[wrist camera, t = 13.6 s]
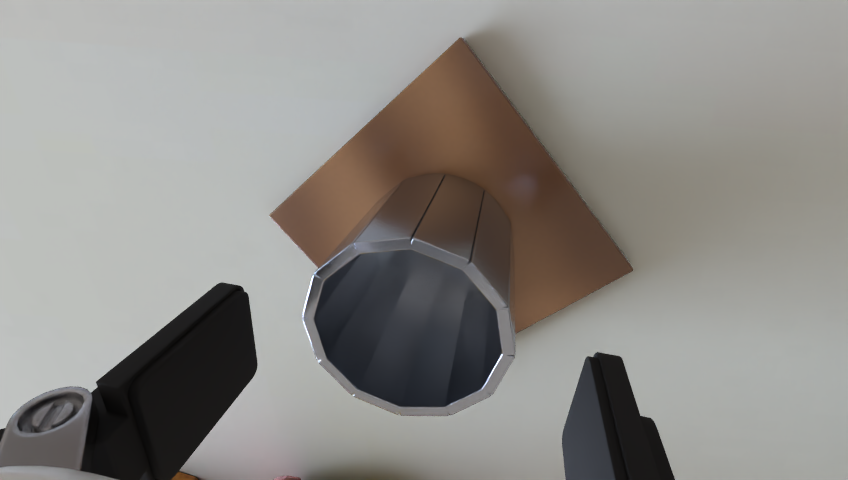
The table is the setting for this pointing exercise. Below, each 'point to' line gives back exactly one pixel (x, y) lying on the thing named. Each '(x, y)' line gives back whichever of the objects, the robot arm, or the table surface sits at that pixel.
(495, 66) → the table surface
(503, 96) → the coaster mat
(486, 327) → the cup
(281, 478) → the alarm clock
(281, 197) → the table surface
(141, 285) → the table surface
